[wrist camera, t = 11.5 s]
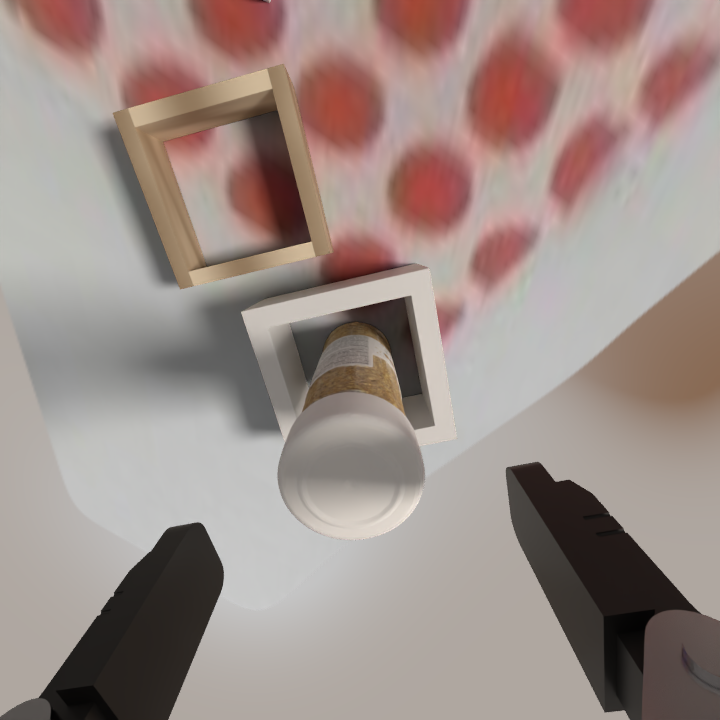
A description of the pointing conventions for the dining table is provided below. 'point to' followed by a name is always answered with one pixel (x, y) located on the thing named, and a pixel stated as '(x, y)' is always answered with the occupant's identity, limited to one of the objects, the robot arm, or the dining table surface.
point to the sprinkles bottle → (352, 442)
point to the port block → (411, 282)
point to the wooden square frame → (206, 111)
